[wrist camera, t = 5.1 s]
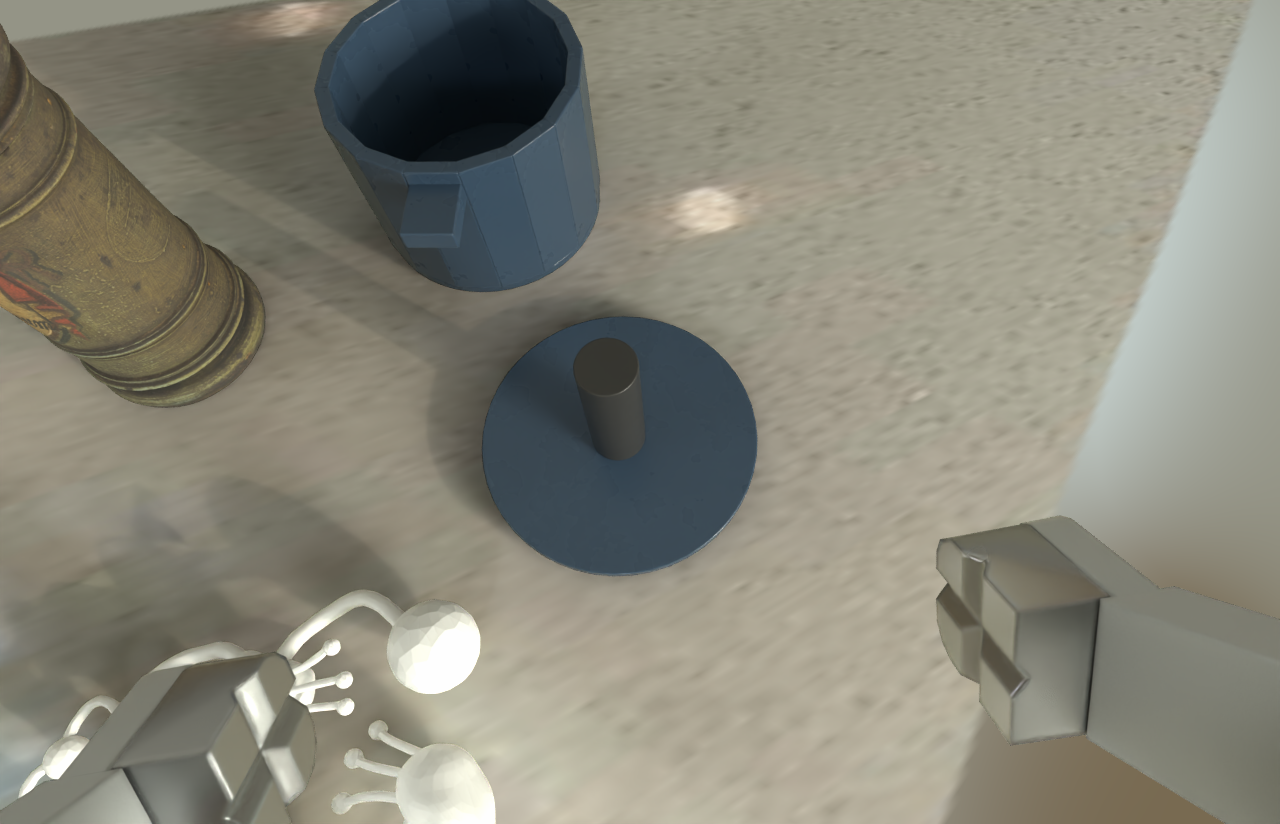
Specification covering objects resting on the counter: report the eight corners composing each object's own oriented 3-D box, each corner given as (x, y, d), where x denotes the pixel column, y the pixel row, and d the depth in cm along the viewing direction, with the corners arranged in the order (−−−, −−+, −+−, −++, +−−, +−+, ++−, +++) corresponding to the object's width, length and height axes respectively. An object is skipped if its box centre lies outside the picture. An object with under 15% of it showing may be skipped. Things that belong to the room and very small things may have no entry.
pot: (363, 334, 40) (276, 224, 31) (413, 89, 47) (353, -57, 38) (591, 336, 39) (567, 224, 30) (607, 87, 46) (591, -62, 37)
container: (209, 239, 43) (-84, -69, 26) (302, 327, 40) (43, 47, 23) (73, 341, 40) (-344, 74, 24) (163, 443, 38) (-235, 222, 21)
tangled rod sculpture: (41, 1030, 29) (-59, 1089, 25) (66, 652, 34) (-15, 652, 30) (522, 939, 29) (497, 984, 25) (483, 574, 34) (456, 564, 30)
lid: (471, 575, 34) (411, 530, 26) (501, 325, 40) (458, 226, 32) (759, 582, 34) (786, 538, 26) (751, 327, 39) (771, 225, 31)
